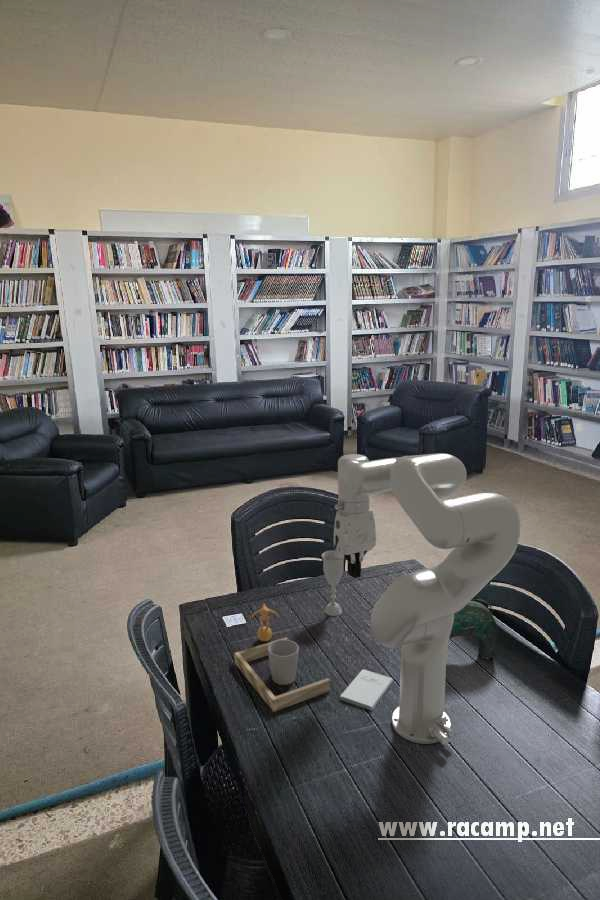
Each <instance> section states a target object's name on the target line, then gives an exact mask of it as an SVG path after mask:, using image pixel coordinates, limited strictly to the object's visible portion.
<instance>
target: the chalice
mask: <svg viewBox="0 0 600 900" xmlns="http://www.w3.org/2000/svg"><path fill="white" fill-rule="evenodd" d="M335 552H336V549H331V550H326V551H323V553H322V554H321V558H322V559H323V560H322V562H323V568H322V569H323V574H324V576H325V580H326V581H327V583H328V585H330V586H331V589H330V593H331V595H330V598H331V602H329V603H328V604H327V606H326V608H325V610H324V613H325V614H326V615H328V616H330V617H331V616H332V617H334V616H335V617H336V616H340V615H341V614H342V613H343V610H342V609H341V605H340V604H339V603H338V602H336V598H337V595H336V592H337V590H336V586H337V585H338V584H339V582H340V580H341V578H342V576H343V573H344V560H345V558H337V557H335Z"/></svg>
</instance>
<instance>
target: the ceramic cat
mask: <svg viewBox="0 0 600 900" xmlns="http://www.w3.org/2000/svg"><path fill="white" fill-rule="evenodd" d="M482 603H484V604H486V605H487V606H489V608H490V610H489V608H488V607H486V606H485V605H484V604H482ZM493 615H494V610H493V607H492V605H491V604H490V603H489V602H488V601H487V600H483V599H478V598H472V599H471V600H470V601H469V602H468V603H467V604H466V606H465V607H463V608H462V609H461V610H460V611H458V612H456V613H454V621H453V626H452V630H451V633H450V637H449V640H450V639H452V638H455V637H459V636H460V637H461V636H471V637H473V638H475V639H476V640H477V641H478V650H477V651H478V652H479V653H478V655H479V654H480V655H479V656H480V658H481V657H483V658H492V657H493V658H494V655H495V651H496V650H495V649H496V646H497V643H498V634H499V633H498V632H499V631H498V624H497V622H496V621H495V618H494V616H493Z"/></svg>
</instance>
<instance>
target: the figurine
mask: <svg viewBox="0 0 600 900" xmlns="http://www.w3.org/2000/svg"><path fill="white" fill-rule="evenodd" d="M269 613H272V614H275V615H276V616H277V618H279V619H281V617H280V615H279V614H278V613H277V612H276V611H275V610H273V609H270V608H268V606H267V605H266V604H265V603H263V604H262V606H261V608H260V609H258V610H257V611H255V612H253V613H252V614H251V615H250V617H249V619H248V621H250V620H251V619H252V618H253V617H254V616H255V615H257V614H260V615H261V616H259V618H258V619H259V622H260V623H259V624H260V627H259V628H258V630H257V633H256V634H257V635H256V636H257V638H258V640H260V642H266V643H267V642H268V641H270V640H271V639H272V636H273V631H272V629H271V628H270V627H269V625H270V622H269V621H270V616H269V615H268V614H269ZM263 621H266V624H265V625H266V626H265V625H264V623H263ZM263 625H264V626H263Z"/></svg>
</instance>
